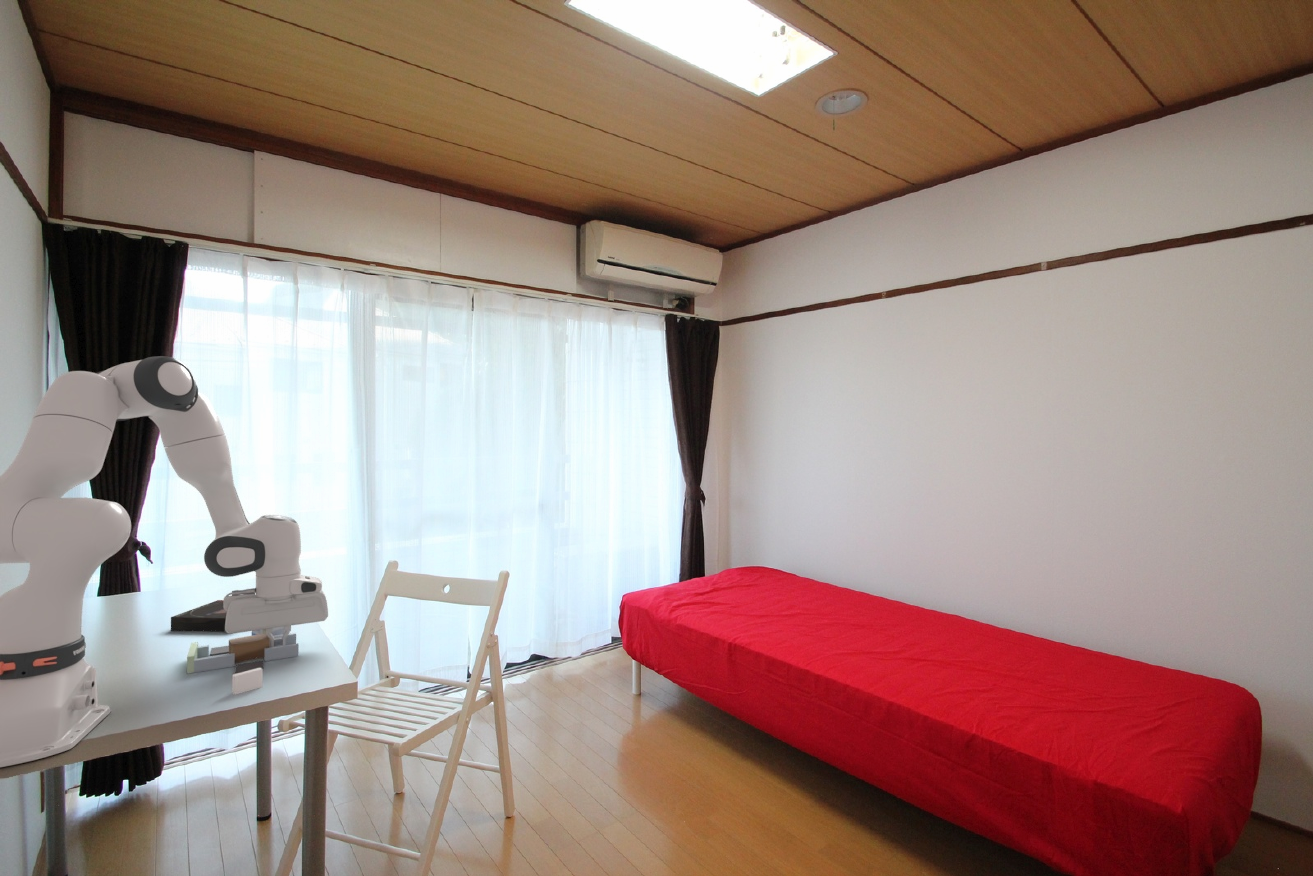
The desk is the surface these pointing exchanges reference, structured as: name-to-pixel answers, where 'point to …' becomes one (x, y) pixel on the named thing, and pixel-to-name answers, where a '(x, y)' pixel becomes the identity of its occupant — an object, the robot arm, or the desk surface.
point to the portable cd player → (201, 619)
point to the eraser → (247, 680)
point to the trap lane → (202, 661)
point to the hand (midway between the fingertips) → (278, 646)
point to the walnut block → (249, 647)
